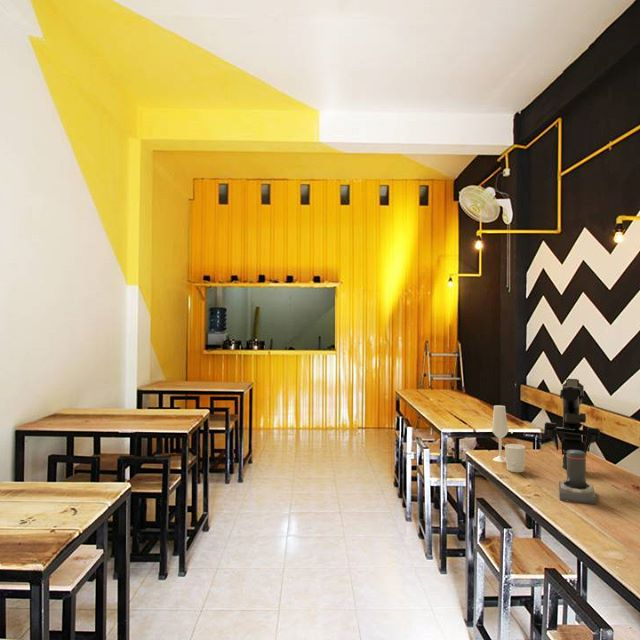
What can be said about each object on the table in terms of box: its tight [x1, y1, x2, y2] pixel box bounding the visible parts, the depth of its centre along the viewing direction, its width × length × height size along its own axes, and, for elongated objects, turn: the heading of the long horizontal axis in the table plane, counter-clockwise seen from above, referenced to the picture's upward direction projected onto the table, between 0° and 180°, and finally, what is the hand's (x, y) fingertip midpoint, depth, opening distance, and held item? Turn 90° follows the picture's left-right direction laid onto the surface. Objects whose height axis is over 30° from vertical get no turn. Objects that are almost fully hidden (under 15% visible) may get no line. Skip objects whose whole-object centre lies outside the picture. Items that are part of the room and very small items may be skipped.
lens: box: [566, 450, 587, 489], centre depth 175 cm, size 6×6×13 cm
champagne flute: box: [491, 404, 509, 463], centre depth 221 cm, size 7×7×24 cm
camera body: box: [558, 479, 597, 505], centre depth 175 cm, size 13×11×4 cm
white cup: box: [504, 443, 526, 473], centre depth 206 cm, size 8×8×10 cm
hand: (571, 451), depth 184 cm, fingers open, 9 cm apart
